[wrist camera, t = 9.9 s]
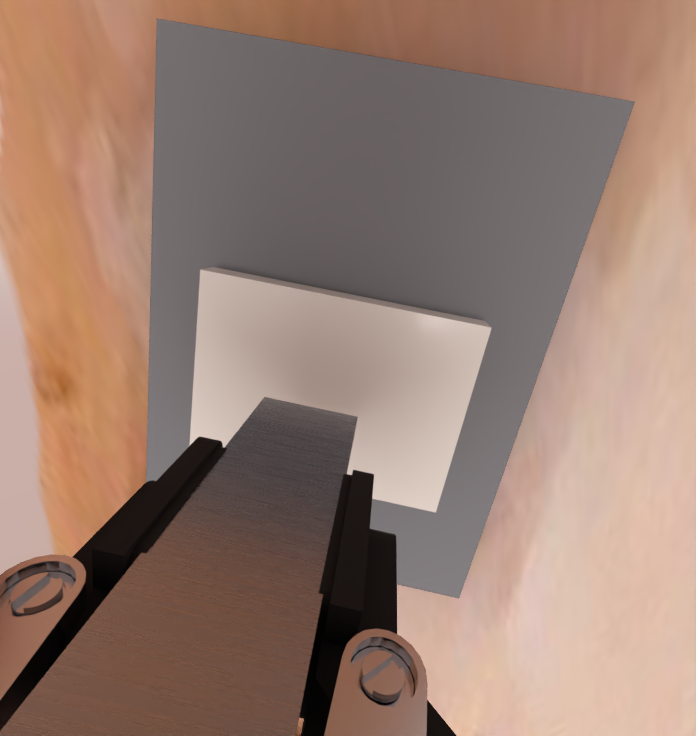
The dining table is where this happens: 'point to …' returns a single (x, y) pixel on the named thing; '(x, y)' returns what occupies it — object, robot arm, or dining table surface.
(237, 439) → the metal bar
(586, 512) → the dining table surface
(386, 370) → the tile
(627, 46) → the dining table surface
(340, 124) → the mat
